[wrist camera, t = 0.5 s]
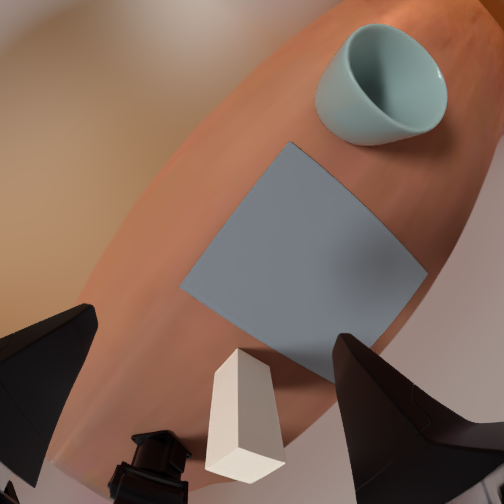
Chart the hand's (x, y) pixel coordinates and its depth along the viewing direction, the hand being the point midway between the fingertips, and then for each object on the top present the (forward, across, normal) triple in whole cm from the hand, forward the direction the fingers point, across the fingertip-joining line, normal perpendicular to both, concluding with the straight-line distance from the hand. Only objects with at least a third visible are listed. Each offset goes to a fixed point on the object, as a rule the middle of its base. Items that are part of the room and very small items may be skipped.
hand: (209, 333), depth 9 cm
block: (+13, -2, +15) cm, 20 cm away
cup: (+18, -9, -11) cm, 22 cm away
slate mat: (+15, -8, +5) cm, 17 cm away
